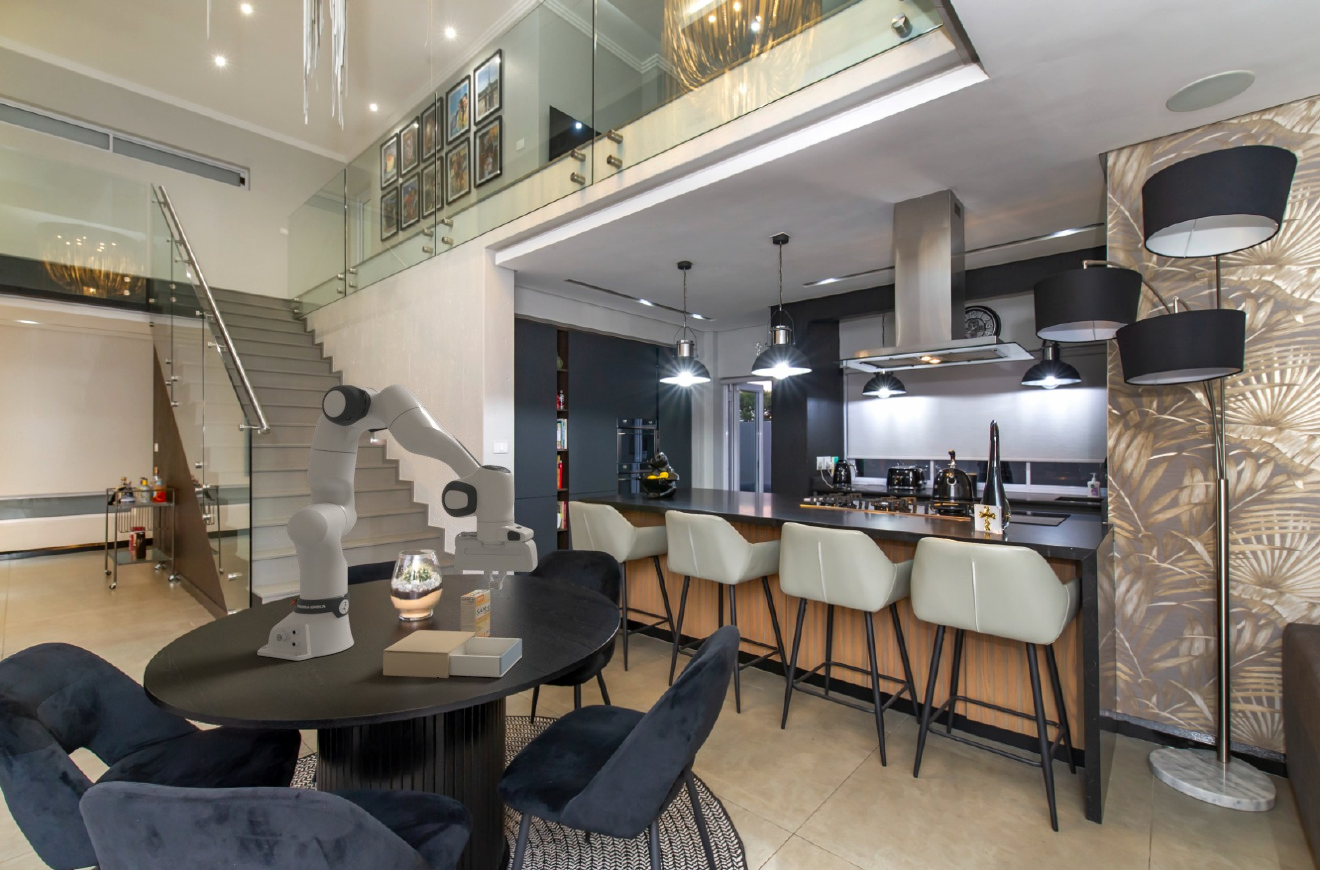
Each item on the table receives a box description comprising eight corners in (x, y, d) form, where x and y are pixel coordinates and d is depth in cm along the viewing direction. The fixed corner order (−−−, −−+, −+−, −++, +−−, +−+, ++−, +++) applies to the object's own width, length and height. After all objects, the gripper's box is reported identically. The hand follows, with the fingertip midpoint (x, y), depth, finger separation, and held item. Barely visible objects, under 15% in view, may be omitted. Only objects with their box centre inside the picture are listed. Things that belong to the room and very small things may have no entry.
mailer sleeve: (383, 675, 134) (383, 650, 134) (417, 652, 149) (417, 629, 149) (447, 677, 132) (447, 652, 132) (476, 654, 147) (476, 631, 147)
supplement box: (476, 646, 153) (476, 597, 154) (459, 644, 154) (459, 596, 154) (491, 636, 161) (491, 589, 162) (475, 635, 162) (475, 588, 163)
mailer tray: (439, 674, 133) (439, 654, 133) (465, 654, 146) (465, 636, 146) (501, 677, 131) (501, 657, 131) (521, 656, 144) (521, 638, 144)
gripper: (448, 533, 137) (448, 591, 137) (530, 534, 135) (530, 593, 134) (461, 529, 143) (460, 584, 143) (539, 530, 141) (539, 586, 141)
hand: (495, 589), depth 139 cm, fingers closed
